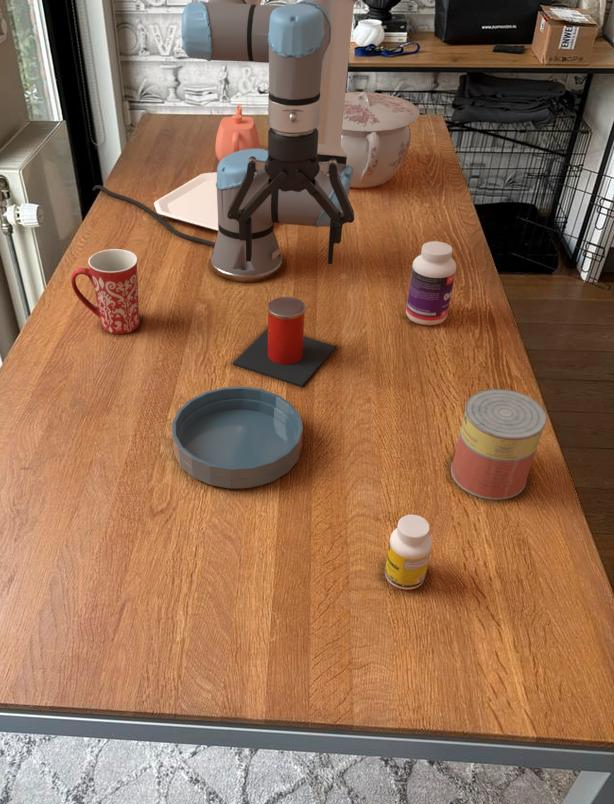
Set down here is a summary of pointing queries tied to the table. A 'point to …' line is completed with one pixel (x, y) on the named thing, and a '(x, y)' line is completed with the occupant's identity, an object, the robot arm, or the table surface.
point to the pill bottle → (431, 284)
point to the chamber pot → (376, 135)
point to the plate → (192, 202)
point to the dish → (237, 437)
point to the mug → (113, 289)
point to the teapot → (236, 135)
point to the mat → (291, 373)
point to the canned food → (497, 443)
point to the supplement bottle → (408, 552)
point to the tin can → (285, 330)
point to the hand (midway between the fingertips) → (289, 259)
